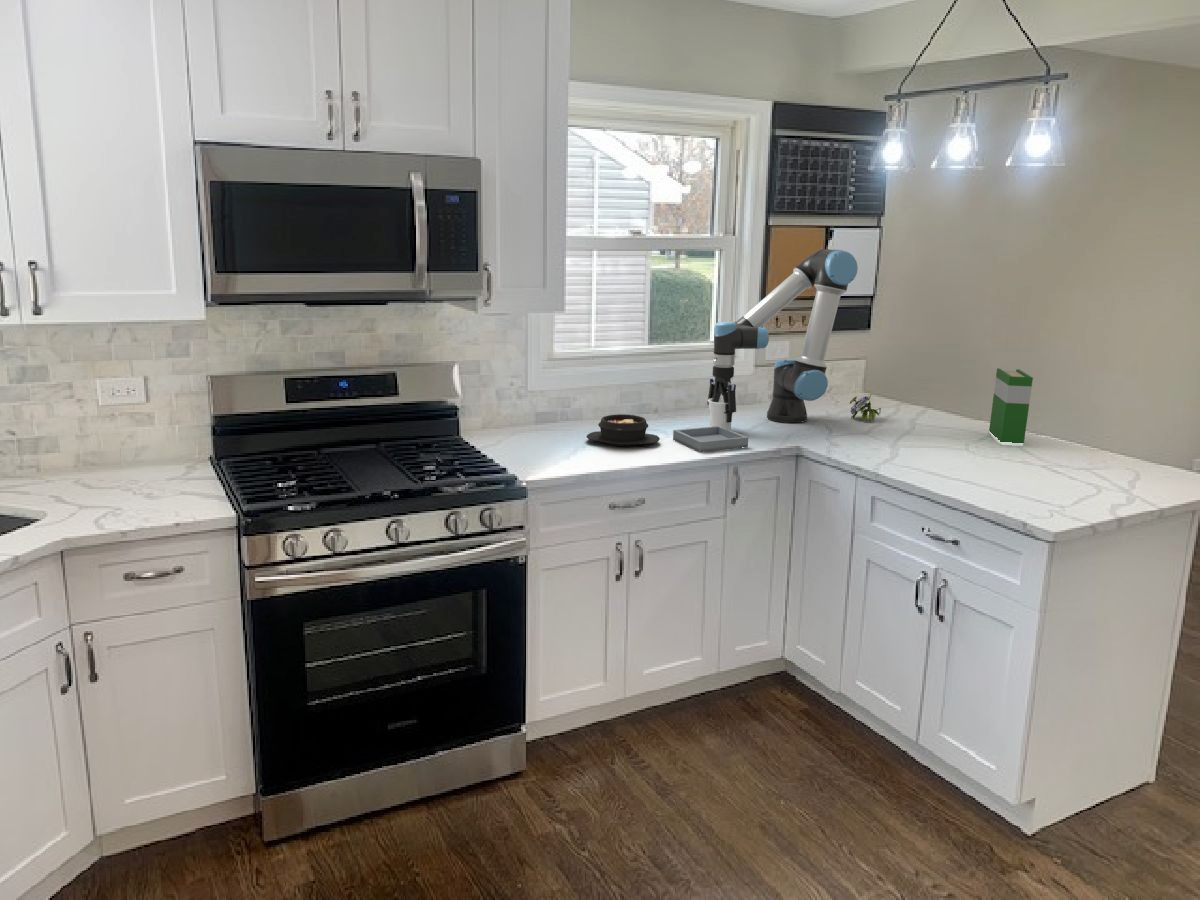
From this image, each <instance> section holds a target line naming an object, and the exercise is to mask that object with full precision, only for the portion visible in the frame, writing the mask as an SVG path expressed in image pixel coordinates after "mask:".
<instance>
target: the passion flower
mask: <svg viewBox="0 0 1200 900" xmlns="http://www.w3.org/2000/svg"><path fill="white" fill-rule="evenodd" d="M871 397H872V394H870V393H869V394H868V396H867V395H865V396H863V397H861V398H858V396H856V395H855V396H854V397H853V398H852V399H851V400H850V402H849V405H850V404H853V405H852V406H851V407H850V414H851V417H853V419H854V418H855V417H856V416H857V414H858V412H860V414H861V415H862V416H861V417H862V418H861V419H862V422H863V421H867V418H868V421H869V422H871V421H872V420H875V418H876V417H877V416H880V414H881V412H882V411H881V410H882V407H878V408H876V409H875V408H872V407H871V406H872V403H871ZM857 398H858V399H857ZM878 410H879V412H878ZM876 415H877V416H876Z"/></svg>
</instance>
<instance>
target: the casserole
mask: <svg viewBox="0 0 1200 900" xmlns="http://www.w3.org/2000/svg"><path fill="white" fill-rule="evenodd" d="M597 424H598V427H599V428H600V431H599V430H598V431H591V432H590V433H588V434H586V438H587V439H588V440H589V441H595V442H602V443H604V444H607V445H611V446H614V445H615V446H614V447H634V446H637V445H649V444H650V445H651V444H654V443H657V442H659V441H660V440H661V438H660V437H659V436H658V435H657V434H651V433H647V429H648V427H649V424H648V423H647V420H646V418H645V417H643V416H639V415H635V414H627V413H626V414H622V413H621V414H620V413H618V414H608V415H606V416H603V417H601V419H600V422H598V423H597Z"/></svg>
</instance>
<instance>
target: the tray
mask: <svg viewBox="0 0 1200 900" xmlns="http://www.w3.org/2000/svg"><path fill="white" fill-rule="evenodd" d="M672 434H673V435H672V441H674V440H675V442H676V441H677V442H676V443H678V444H681V445H683V446H685V447H688V448H690V449H691V450H693V449H694V451H696V452H698V453H708V452H710V453H711V452H718V451H719V450H721V451H727V450H726V449H730V450H735V449H734V448H740V449H743V448H742V447H748V448H749V437H748V436H746V435H743V434H741V433H738V432H735V431H734V430H732V429H731V430H729V429H726V428H724V427H721V426H703V427H694V428H693V427H691V428H682V429H673V432H672ZM719 452H720V451H719Z"/></svg>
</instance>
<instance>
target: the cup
mask: <svg viewBox="0 0 1200 900" xmlns="http://www.w3.org/2000/svg"><path fill="white" fill-rule="evenodd" d="M712 399H713V398H711V399H708V398H707V402H708V401H709V405H708V406H709V407H708V408H709V414H710V419H711V426H710V427H712V426H721V427H724V412H726V411H725V405H726V404H728V403H724V400H723V397H720V399H719V402H718V403H717V402H712ZM728 410H729V409H728Z"/></svg>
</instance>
